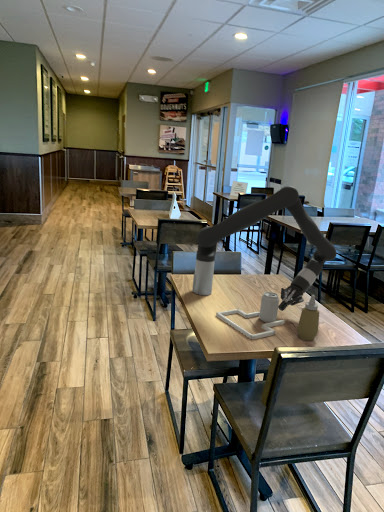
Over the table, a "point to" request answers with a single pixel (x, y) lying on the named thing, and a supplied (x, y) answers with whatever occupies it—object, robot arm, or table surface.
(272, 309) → the can
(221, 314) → the t outline
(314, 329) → the squeeze bottle
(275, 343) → the table surface
